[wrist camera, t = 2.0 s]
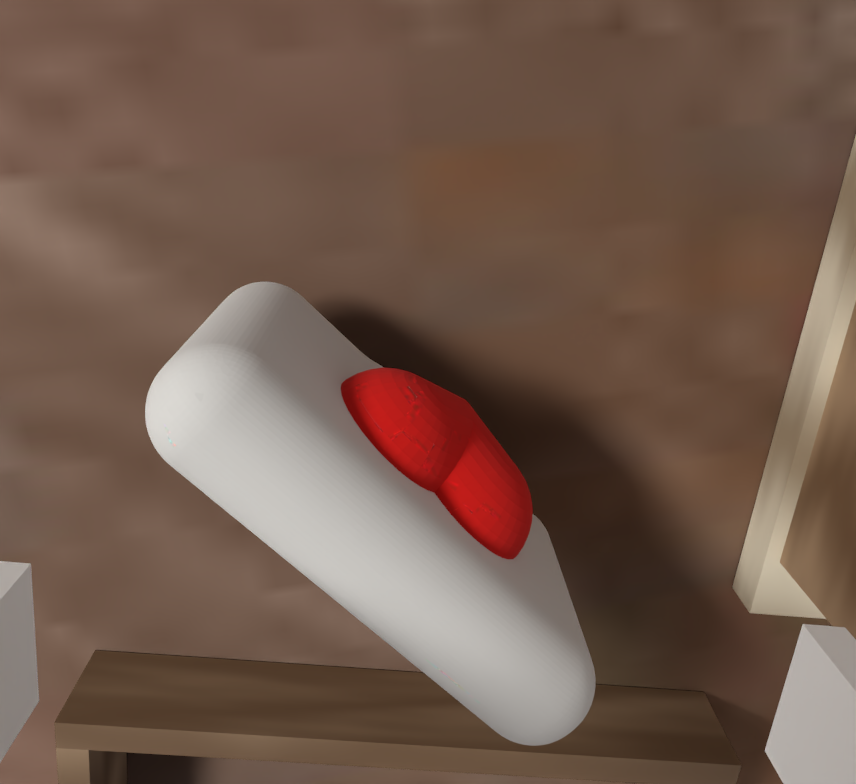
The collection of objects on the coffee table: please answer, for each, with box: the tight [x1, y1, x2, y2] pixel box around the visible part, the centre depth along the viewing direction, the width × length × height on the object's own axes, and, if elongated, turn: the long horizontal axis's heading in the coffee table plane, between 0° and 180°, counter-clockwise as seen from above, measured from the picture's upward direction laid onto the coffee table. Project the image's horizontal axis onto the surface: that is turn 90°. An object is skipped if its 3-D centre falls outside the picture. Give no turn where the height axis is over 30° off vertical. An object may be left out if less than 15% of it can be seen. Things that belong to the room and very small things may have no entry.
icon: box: [145, 282, 595, 746], centre depth 21 cm, size 12×4×10 cm, turn 44°
